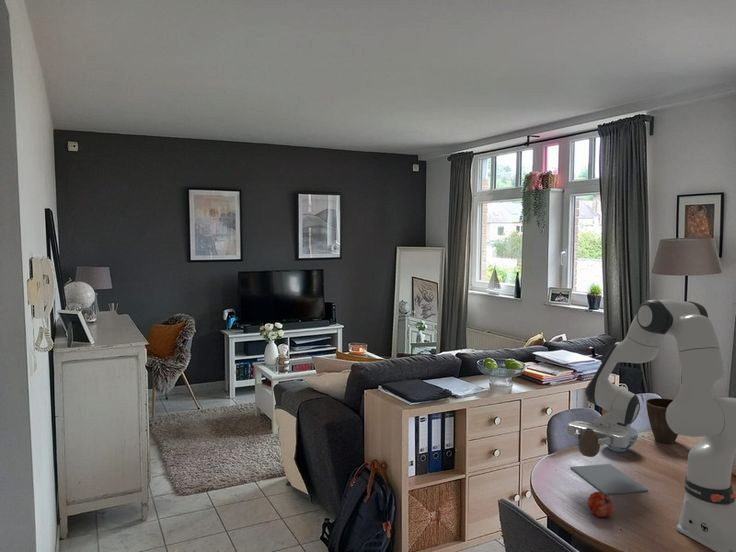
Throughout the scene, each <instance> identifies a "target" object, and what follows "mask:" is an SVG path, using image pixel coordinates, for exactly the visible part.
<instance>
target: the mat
mask: <svg viewBox="0 0 736 552" xmlns="http://www.w3.org/2000/svg"><path fill="white" fill-rule="evenodd" d="M570 469H571V470H572V471H573V470H574V471H575V472H574V471H573V472H574V473H576V474H577V473H578V474H579V475H578V474H577V475H578V476H579V477H581V478H582V477H583V478H584V479H583V478H582V479H583V480H585V481H586V482H587V481H588V482H587V483H588V484H590V485H591V486H593V487H594V488H595V489H596V488H597V490H598V492H601V493H603V494H606V495H608V496H610V495H619V494H631V493H632V494H633V493H641V492H644V491H645V492H648V491H649V489H648V488H647V487H645V486H644V485H642V484H641V483H639V482H638V481H636V480H635V479H633V478H631V477H630V476H628V475H627V474H626V473H624V472H623V471H622V470H619V469H618V468H617V467H616V466H613V464H611V463H605V464H603V463H602V464H591V465H589V464H588V465H577V466H576V465H575V466H570Z"/></svg>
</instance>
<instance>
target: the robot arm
mask: <svg viewBox="0 0 736 552" xmlns="http://www.w3.org/2000/svg"><path fill="white" fill-rule="evenodd" d="M666 334H667V335H672V336H673V337H674V339H675V340H676V344H677V345H676V346H677V352H678V357H679V365H680V370H681V371H680V372H681V383H680V389H679V390H678V393H677V395H676V396H675V398H673V399H672V400H673V401H672V402H671V403H670V404H669V405H668V407H667V410H666V421H667V424H668V426H669V427H670V429H671V430H672V431H673V432H674V433H676V434H678V436H679V435H680V436H684V437H689V438H703V439H702V440H701V441H699V443H697V444H696V445H695V446H693V447H692V448H691V449H690V450H689V452H688V455H687V467H686V468H687V469H686V470H687V471H686V473H687V474H686V476H685V477H684V479H685V480H684V491H685V494H684V497H683V501H682V504H681V508H680V509H681V511H680V516H679V518H678V523H677V525H676V531H677V532H680V533H681V534H683V535H685V536H687V537H688V538H691V539H692V540H694V541H696V542H697V543H699V544H700V545H703V546H704V547H707V548H708V549H710V550H712V551H714V552H736V493H734V489H733V486H732V483H731V481H732V469H733V461H734V458H735V455H736V397H713V395H712V394H713V393H712V392H713V389H714V386H715V385H716V384H718V383H719V382H720V381H722V380H723V378H724V376H725V374H726V373H725V368H724V362H723V357H722V353H721V352H722V351H721V348H720V342H719V340H718V336H717V333H716V330H715V328H714V326H713V323H712V321H711V319H710V318H709V314H708V310H707V308H705V306H704V305H702V304H700V303H697V302H695V301H690V300H689V301H683V300H676V299H649V300H646V301H644V302H642V303H641V304H640V305H639V306H638V308H637V311H636V314H635V315H634V318H633V320H632V322H631V323H630V326H629V328H628V330H627V333H626V336H625V338H624V339H623V340H622V341H617V342H615V343H614V344H613V345H612V346H611V347H610V349H609V350H608V352H607V353H606V354H605V356H604V358H603V360H602V361H601V363H600V365H599V367H598V369H597V370H596V372H595V374H594V376H592V379H591V380H590V381H589V382H588V384H587V386H586V387H585V388H586V389H585V390H584V393H585V396H586V399H587V401H588V402H589V403H591V404H593V405H595V406H597V407H600V408H602V409H604V410H605V411H608V412H606V413H604V414H602V415H600V416H599V417H597V418H595V419H593V420H592V421H591V422H588V421H587V422H586V421H582V420H574V421H571V422H568V423H567V424H566V434H567V435H569V436H573V439H576V440H579V437H580V436H581V434H582V433H583V432H584V431H585V429H586V428H590V429H593V431H594V433H595V434H596V435H597V437H598V444H599V445H600V446H604V445H606V444H609V445H612V446H616V447H620V448H625V447H627V446H628V444H629V441H630V427H631V425H632V423H634V422H635V420H636V419H637V418H638V415H639V412H640V410H641V403H640V399H639V397H638V395H637V394H635V393H633V392H631V391H630V390H627V389H625V388H623V387H621V386H619V385H617V384H614V383H612V382H611V381H610V380H609V377H610V375H611V374H612V372H613V370H614V369H615V368H616V366H617V364H618V363H628V364H629V363H630V364H643V363H648V362H651V361H653V360H655V358H657V356H658V354H659V351H660V349H661V346H662V344H663V342H664V337H665V335H666Z"/></svg>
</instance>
